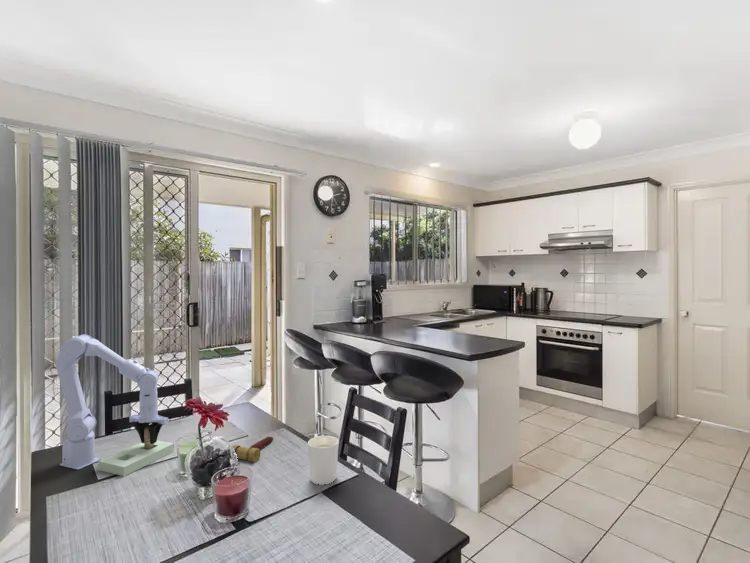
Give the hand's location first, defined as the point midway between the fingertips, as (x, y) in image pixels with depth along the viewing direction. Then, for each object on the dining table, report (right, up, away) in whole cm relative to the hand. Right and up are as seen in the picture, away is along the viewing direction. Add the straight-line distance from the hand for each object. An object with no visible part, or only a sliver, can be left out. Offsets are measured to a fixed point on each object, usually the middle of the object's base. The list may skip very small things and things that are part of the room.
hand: (149, 442), depth 149 cm
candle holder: (+65, -5, -17) cm, 67 cm away
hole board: (-2, -5, -4) cm, 6 cm away
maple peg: (0, -2, 0) cm, 2 cm away
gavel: (+38, -5, +5) cm, 39 cm away
